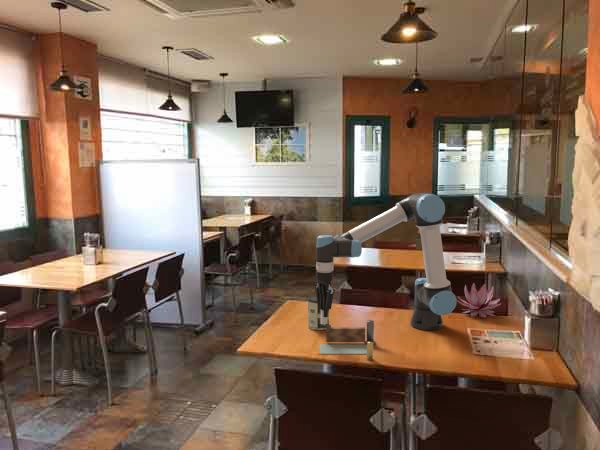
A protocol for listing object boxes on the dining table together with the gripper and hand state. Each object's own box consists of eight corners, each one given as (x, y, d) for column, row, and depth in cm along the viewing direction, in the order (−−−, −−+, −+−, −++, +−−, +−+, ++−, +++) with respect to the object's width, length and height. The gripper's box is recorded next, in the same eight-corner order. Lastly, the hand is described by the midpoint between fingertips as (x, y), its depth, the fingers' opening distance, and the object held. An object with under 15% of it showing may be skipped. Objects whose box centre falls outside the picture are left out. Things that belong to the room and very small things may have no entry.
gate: (364, 340, 206) (364, 325, 205) (365, 342, 204) (365, 326, 203) (326, 340, 207) (326, 324, 206) (326, 342, 204) (326, 326, 204)
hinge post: (375, 341, 207) (375, 319, 206) (376, 345, 203) (376, 323, 201) (363, 341, 208) (363, 319, 206) (364, 345, 203) (365, 323, 201)
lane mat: (365, 345, 203) (365, 344, 203) (368, 354, 193) (368, 353, 193) (319, 345, 204) (319, 344, 204) (319, 354, 194) (319, 353, 194)
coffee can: (330, 323, 231) (330, 295, 230) (327, 330, 221) (327, 301, 220) (309, 322, 234) (309, 294, 232) (306, 329, 224) (305, 300, 222)
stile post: (372, 358, 189) (372, 341, 189) (373, 360, 187) (373, 343, 186) (366, 358, 189) (366, 341, 189) (367, 360, 187) (367, 343, 186)
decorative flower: (481, 324, 229) (482, 294, 227) (447, 312, 247) (447, 284, 245) (509, 317, 239) (511, 288, 237) (475, 306, 258) (476, 279, 256)
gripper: (309, 269, 209) (309, 320, 212) (325, 274, 198) (324, 329, 201) (323, 267, 213) (323, 318, 216) (340, 273, 201) (339, 326, 204)
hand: (323, 323), depth 208 cm, fingers closed
